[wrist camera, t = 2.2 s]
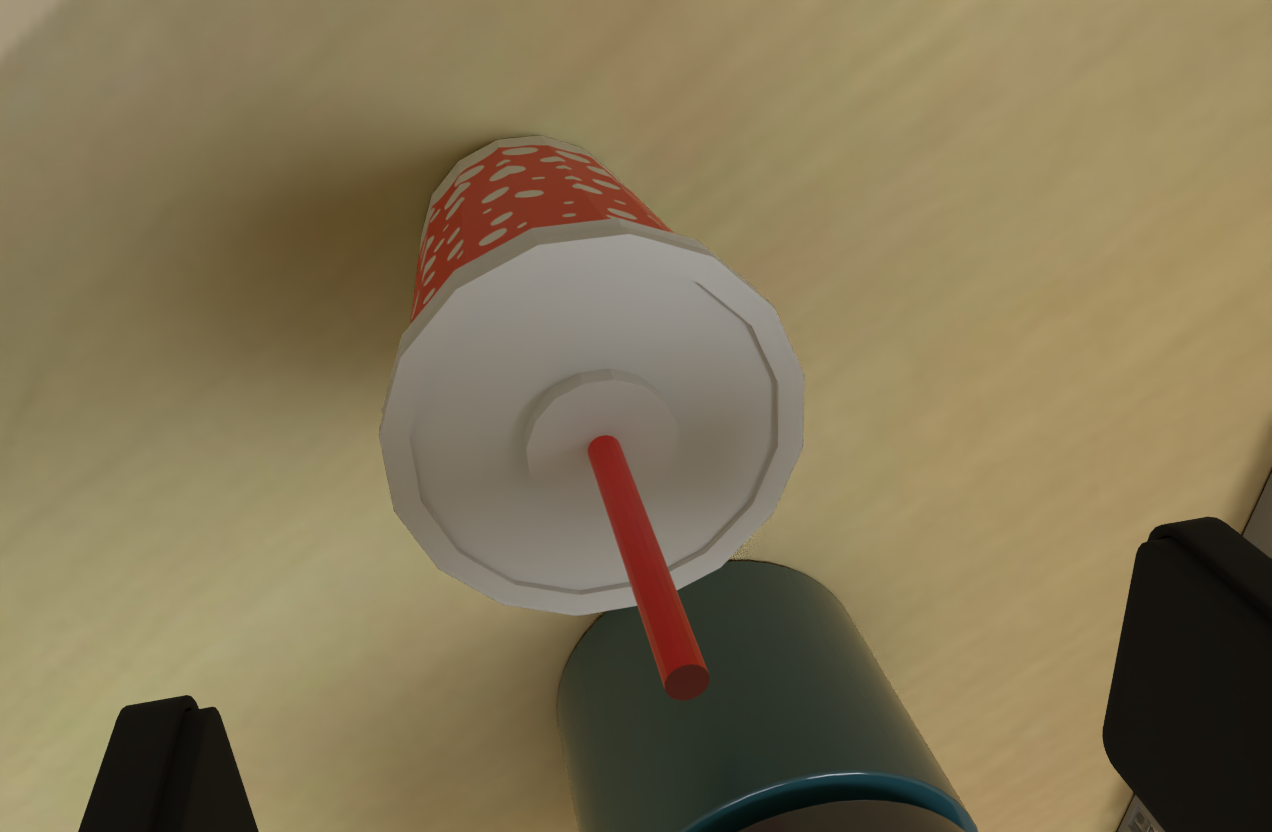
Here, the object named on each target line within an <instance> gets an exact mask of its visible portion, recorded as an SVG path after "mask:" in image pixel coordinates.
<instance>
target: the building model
mask: <svg viewBox="0 0 1272 832" xmlns="http://www.w3.org/2000/svg"><path fill="white" fill-rule="evenodd" d="M1243 537H1244V538H1246V539H1247V540H1248V541H1249V542H1251V543H1252V544H1253V545H1254V546H1256V547H1257V548H1258V549H1260V550H1261V551H1262V552H1263V553H1265V554H1266V555H1267V556H1268V557H1270V558H1271V559H1272V473H1271V475H1270V477H1269V480H1268V482H1267V484H1266V486H1265V488H1264V490H1263V493H1262V495H1261V497H1260V499H1259V501H1258V503H1257V506H1256V508H1255V510H1254V512H1253V514H1252V517H1251V519H1250V521H1249V523H1248V525H1247V527H1246V530H1245V532H1244V534H1243ZM1118 832H1165V831H1164V830H1163V828H1162V827H1161V826H1160V825H1159V823H1158V822H1157V821H1156V820H1155V818H1154V817H1153V816H1152V815H1151V813H1150V812H1149V811H1148V810H1147V808H1146V807H1145V806H1144V804H1143V803H1142V802H1141V801H1140V799H1139V798H1138V797H1137V796H1136V794H1135V796H1134V798H1133V800H1132V802H1131V804H1130V806H1129V808H1128V811H1127V813H1126V815H1125V817H1124V819H1123V821H1122V823H1121V826H1120V828H1119V830H1118Z"/></svg>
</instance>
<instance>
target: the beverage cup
mask: <svg viewBox="0 0 1272 832" xmlns="http://www.w3.org/2000/svg"><path fill="white" fill-rule="evenodd" d="M382 413H383V415H382V419H381V423H380V427H379V438H380V443H381V448H382V453H383V459H384V464H385V469H386V474H387V479H388V484H389V489H390V494H391V499H392V504H393V509H394V512H395V513H396V514H397V515H398V517H399V518H400V519H401V521H402V522H403V523H404V525H405V526H406V527H407V529H408V530H409V531H410V533H411V534H412V535H413V536H414V538H415V539H416V540H417V542H418V543H419V544H420V546H421V547H422V548H423V550H424V551H425V552H426V554H427V555H428V556H429V557H430V559H431V560H432V561H433V563H434V564H435V565H436V567H437V568H438V569H439V570H441V571H443V572H445V573H446V574H448V575H450V576H452V577H454V578H455V579H457V580H459V581H461V582H463V583H464V584H466V585H468V586H470V587H472V588H473V589H475V590H477V591H479V592H481V593H482V594H484V595H486V596H488V597H490V598H491V599H493V600H495V601H497V602H498V603H500V604H502V605H507V606H514V607H520V608H527V609H534V610H540V611H547V612H554V613H560V614H567V615H573V616H581V615H587V614H592V613H598V612H604V611H609V610H615V609H621V608H627V607H632V606H638V609H639V612H640V616H641V619H642V622H643V625H644V628H645V631H646V634H647V637H648V640H649V643H650V646H651V649H652V652H653V655H654V658H655V661H656V665H657V668H658V671H659V674H660V677H661V680H662V683H663V686H664V689H665V691H666V693H667V694H668V696H670V697H671V698H673V699H675V700H682V701H685V700H690V699H693V698H695V697H697V696H699V695H701V694H702V693H703V692H704V691H705V690H706V689H707V687H708V684H709V682H710V678H709V673H708V670H707V667H706V665H705V662H704V660H703V657H702V654H701V652H700V649H699V647H698V644H697V642H696V639H695V636H694V634H693V631H692V629H691V626H690V623H689V621H688V618H687V616H686V613H685V611H684V608H683V605H682V603H681V600H680V598H679V595H678V592H677V590H679V589H681V588H682V587H684V586H686V585H688V584H690V583H692V582H694V581H696V580H698V579H700V578H702V577H704V576H705V575H707V574H709V573H711V572H713V571H715V570H717V569H719V568H721V567H722V566H723V565H724V564H725V563H726V562H727V561H728V560H729V558H730V557H731V556H732V555H733V554H734V553H735V552H736V551H737V550H738V549H739V548H740V547H741V546H742V545H743V544H744V543H745V542H746V541H747V540H748V539H749V538H750V537H751V536H752V535H753V534H754V533H755V532H756V531H757V530H758V529H759V528H760V527H761V526H762V525H763V524H764V523H765V521H766V520H767V519H768V518H769V517H770V516H771V515H772V514H773V513H774V510H775V508H776V506H777V504H778V502H779V499H780V497H781V495H782V493H783V490H784V488H785V486H786V484H787V481H788V479H789V477H790V475H791V473H792V470H793V468H794V466H795V464H796V461H797V459H798V457H799V455H800V452H801V450H802V448H803V421H804V373H803V371H802V368H801V366H800V364H799V362H798V359H797V357H796V355H795V353H794V351H793V348H792V346H791V344H790V342H789V339H788V337H787V335H786V333H785V330H784V328H783V326H782V324H781V322H780V319H779V317H778V315H777V313H776V310H775V308H774V307H773V306H772V304H771V303H770V302H769V301H768V300H767V299H766V298H765V297H763V296H762V295H761V294H760V293H759V292H757V291H756V289H755V288H754V287H753V286H752V285H750V284H749V283H748V282H747V281H746V280H744V279H743V278H742V277H741V276H740V275H738V274H737V273H736V272H735V271H734V270H732V269H731V268H730V267H729V266H728V265H727V264H725V263H724V262H723V261H722V260H721V259H719V258H718V257H717V256H716V255H715V254H713V253H712V252H711V251H710V250H709V249H707V248H706V247H705V246H704V245H703V244H701V243H700V242H699V241H698V240H695V239H691V238H688V237H684V236H681V235H677V234H674V233H673V232H672V231H671V230H670V229H669V228H668V227H667V226H666V225H665V224H664V223H663V222H662V221H661V220H660V219H659V218H658V217H657V216H656V215H655V214H654V213H653V212H652V211H651V210H650V209H649V208H648V207H647V206H646V205H645V204H644V203H642V202H641V201H640V200H639V199H638V198H637V197H636V196H635V195H634V194H633V193H632V192H631V191H630V190H629V189H628V188H627V187H626V186H625V185H624V184H623V183H622V182H621V181H620V180H619V179H618V178H617V177H616V176H615V175H614V174H612V173H611V172H610V171H609V170H608V169H606V168H605V167H604V166H603V165H602V164H601V163H599V162H598V161H597V160H596V159H595V158H593V157H592V156H591V155H590V154H589V153H587V152H586V151H585V150H584V149H583V148H581V147H578V146H575V145H571V144H568V143H565V142H561V141H558V140H555V139H551V138H548V137H545V136H541V135H538V136H528V137H519V138H509V139H500V140H496V141H494V142H492V143H490V144H488V145H487V146H485V147H483V148H481V149H479V150H477V151H476V152H474V153H472V154H470V155H468V156H467V157H465V158H463V159H461V160H459V161H458V162H457V163H456V165H455V166H454V167H453V169H452V170H451V171H450V172H449V174H448V175H447V176H446V177H445V179H444V180H443V181H442V183H441V184H440V185H439V186H438V188H437V189H436V190H435V191H434V193H433V194H432V197H431V200H430V204H429V208H428V212H427V216H426V219H425V223H424V227H423V231H422V235H421V242H420V250H419V258H418V266H417V274H416V282H415V290H414V298H413V306H412V314H411V322H410V326H409V327H408V328H407V329H406V331H405V332H404V333H403V334H402V336H401V340H400V344H399V348H398V351H397V355H396V359H395V363H394V367H393V370H392V374H391V378H390V382H389V385H388V389H387V393H386V397H385V401H384V404H383V408H382Z"/></svg>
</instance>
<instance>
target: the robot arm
mask: <svg viewBox="0 0 1272 832" xmlns="http://www.w3.org/2000/svg"><path fill="white" fill-rule="evenodd" d="M1102 736H1103V744H1104V747H1105V751H1106V754H1107V756H1108V758H1109V760H1110V762H1111V764H1112V765H1113V767H1114V768H1115V769H1116V771H1117V772H1118V773H1119V774H1120V776H1121V777H1122V778H1123V779H1124V781H1125V782H1126V783H1127V784H1128V786H1129V787H1130V788H1131V789H1132V791H1133V792H1134V793H1135V794H1136V796H1137V797H1138V798H1139V799H1140V801H1141V802H1142V803H1143V804H1144V806H1145V807H1146V808H1147V810H1148V811H1149V812H1150V813H1151V815H1152V816H1153V817H1154V818H1155V820H1156V821H1157V822H1158V823H1159V825H1160V826H1161V827H1162V828H1163V830H1164V831H1165V832H1272V559H1271V558H1270V557H1268V556H1267V555H1266V554H1265V553H1263V552H1262V551H1261V550H1260V549H1258V548H1257V547H1256V546H1254V545H1253V544H1252V543H1251V542H1249V541H1248V540H1247V539H1246V538H1244V537H1243V536H1242V535H1240V534H1239V533H1238V532H1237V531H1235V530H1234V529H1233V528H1232V527H1230V526H1229V525H1228V524H1226V523H1225V522H1223V521H1221V520H1220V519H1218V518H1214V517H1204V518H1198V519H1192V520H1186V521H1181V522H1175V523H1169V524H1164V525H1160V526H1158V527H1155V528H1154V530H1153V531H1152V532H1151V533H1150V535H1149V538H1148V541H1147V542H1145V543H1142V544H1141V545H1140V547H1139V548H1138V551H1137V554H1136V558H1135V563H1134V568H1133V574H1132V579H1131V584H1130V589H1129V595H1128V600H1127V605H1126V610H1125V615H1124V621H1123V626H1122V631H1121V636H1120V642H1119V647H1118V652H1117V657H1116V663H1115V668H1114V673H1113V678H1112V684H1111V689H1110V694H1109V699H1108V705H1107V710H1106V715H1105V720H1104V726H1103V735H1102ZM78 832H258V829H257V826H256V822H255V819H254V816H253V813H252V810H251V807H250V804H249V801H248V798H247V795H246V792H245V789H244V786H243V783H242V780H241V777H240V774H239V771H238V767H237V764H236V761H235V758H234V755H233V752H232V749H231V746H230V743H229V740H228V737H227V734H226V731H225V728H224V725H223V722H222V719H221V716H220V714H219V711H218V710H217V709H216V708H215V707H209V708H203V709H199V708H198V706H197V703H196V701H195V700H194V699H193V698H192V696H188V695H185V696H180V697H174V698H168V699H163V700H157V701H151V702H145V703H140V704H134V705H128V706H125V707H124V708H123V709H122V710H121V711H120V713H119V715H118V718H117V720H116V723H115V726H114V729H113V732H112V735H111V738H110V741H109V743H108V746H107V749H106V752H105V755H104V758H103V761H102V764H101V767H100V770H99V773H98V776H97V779H96V781H95V784H94V787H93V790H92V793H91V796H90V799H89V802H88V805H87V808H86V811H85V814H84V817H83V819H82V822H81V825H80V828H79V831H78Z"/></svg>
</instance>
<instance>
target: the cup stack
mask: <svg viewBox="0 0 1272 832" xmlns="http://www.w3.org/2000/svg"><path fill="white" fill-rule="evenodd" d="M677 592H678V595H679V598H680V600H681V603H682V605H683V608H684V611H685V613H686V616H687V618H688V621H689V623H690V626H691V629H692V631H693V634H694V636H695V639H696V642H697V644H698V647H699V649H700V652H701V654H702V657H703V660H704V662H705V665H706V667H707V670H708V673H709V678H710V682H709V684H708V687H707V689H706V690H705V691H704V692H703V693H702V694H701V695H699V696H697V697H695V698H693V699H690V700H685V701H682V700H675V699H673V698H671V697H670V696H668V694H667V693H666V691H665V689H664V686H663V683H662V680H661V677H660V674H659V671H658V668H657V665H656V661H655V658H654V655H653V652H652V649H651V646H650V643H649V640H648V637H647V634H646V631H645V628H644V625H643V622H642V619H641V616H640V612H639V609H638V606H632V607H627V608H621V609H615V610H609V611H607V612H606V613H605V614H604V615H603V616H601V617H600V618H599V619H598V620H597V621H596V622H595V623H594V624H593V626H592V627H591V628H590V629H589V630H588V632H587V633H586V634H585V635H584V636H583V638H582V639H581V641H580V642H579V644H578V645H577V647H576V648H575V650H574V652H573V653H572V655H571V657H570V659H569V661H568V664H567V666H566V668H565V670H564V673H563V676H562V680H561V683H560V686H559V692H558V700H557V720H558V726H559V731H560V736H561V741H562V747H563V752H564V757H565V762H566V768H567V773H568V778H569V783H570V788H571V794H572V799H573V804H574V809H575V815H576V820H577V825H578V830H579V832H978V829H977V826H976V825H975V823H974V821H973V820H972V818H971V816H970V815H969V813H968V812H967V810H966V808H965V807H964V805H963V803H962V802H961V800H960V798H959V797H958V795H957V793H956V792H955V790H954V788H953V787H952V785H951V783H950V782H949V780H948V778H947V777H946V775H945V773H944V772H943V770H942V768H941V767H940V765H939V763H938V762H937V760H936V758H935V757H934V755H933V753H932V752H931V750H930V749H929V747H928V745H927V744H926V742H925V740H924V739H923V737H922V735H921V734H920V732H919V730H918V729H917V727H916V725H915V724H914V722H913V720H912V719H911V717H910V715H909V714H908V712H907V710H906V709H905V707H904V705H903V704H902V702H901V700H900V699H899V697H898V695H897V694H896V692H895V690H894V689H893V687H892V686H891V684H890V682H889V681H888V679H887V677H886V676H885V674H884V672H883V671H882V669H881V667H880V666H879V664H878V662H877V661H876V659H875V657H874V656H873V654H872V652H871V651H870V649H869V647H868V646H867V644H866V642H865V641H864V639H863V637H862V636H861V634H860V632H859V631H858V629H857V627H856V626H855V624H854V622H853V621H852V619H851V618H850V616H849V614H848V613H847V611H846V609H845V608H844V606H843V605H842V604H841V603H840V601H839V600H838V599H837V598H836V597H835V596H834V595H833V594H832V593H831V592H830V591H829V590H827V589H826V588H825V587H824V586H822V585H821V584H820V583H818V582H816V581H815V580H813V579H811V578H809V577H808V576H806V575H804V574H802V573H799V572H797V571H794V570H791V569H789V568H786V567H782V566H778V565H774V564H770V563H762V562H753V561H727V562H726V563H725V564H724V565H723V566H722V567H721V568H719V569H717V570H715V571H713V572H711V573H709V574H707V575H705V576H704V577H702V578H700V579H698V580H696V581H694V582H692V583H690V584H688V585H686V586H684V587H682V588H681V589H679V590H677Z"/></svg>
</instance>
